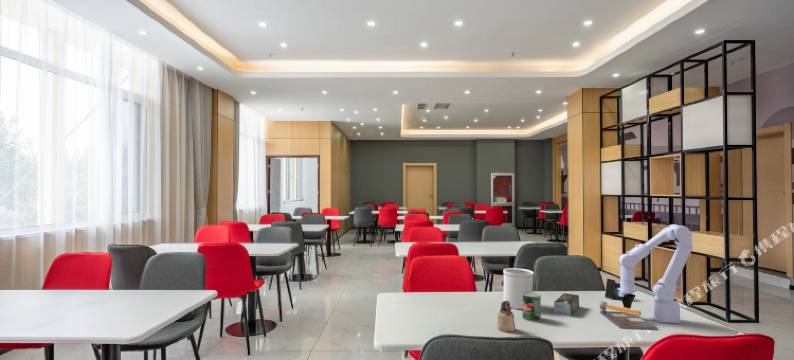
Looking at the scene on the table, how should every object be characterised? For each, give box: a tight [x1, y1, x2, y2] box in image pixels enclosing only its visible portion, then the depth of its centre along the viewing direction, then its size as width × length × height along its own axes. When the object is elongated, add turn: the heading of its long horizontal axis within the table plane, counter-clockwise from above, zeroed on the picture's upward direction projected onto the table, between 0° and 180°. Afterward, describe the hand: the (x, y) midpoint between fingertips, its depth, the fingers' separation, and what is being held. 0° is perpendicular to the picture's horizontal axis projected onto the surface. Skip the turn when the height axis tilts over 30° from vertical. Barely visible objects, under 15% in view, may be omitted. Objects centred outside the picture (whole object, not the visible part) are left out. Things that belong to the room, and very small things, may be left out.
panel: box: [599, 307, 658, 331], centre depth 183 cm, size 15×21×2 cm
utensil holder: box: [502, 267, 535, 310], centre depth 204 cm, size 15×15×18 cm
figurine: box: [496, 300, 516, 333], centre depth 169 cm, size 7×7×12 cm
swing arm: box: [599, 301, 642, 317], centre depth 187 cm, size 18×3×3 cm, turn 40°
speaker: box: [604, 278, 621, 301], centre depth 220 cm, size 8×6×10 cm
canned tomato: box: [522, 292, 542, 322], centre depth 184 cm, size 8×8×11 cm
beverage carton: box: [553, 292, 580, 317], centre depth 198 cm, size 8×19×7 cm, turn 144°
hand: (627, 309), depth 188 cm, fingers closed
